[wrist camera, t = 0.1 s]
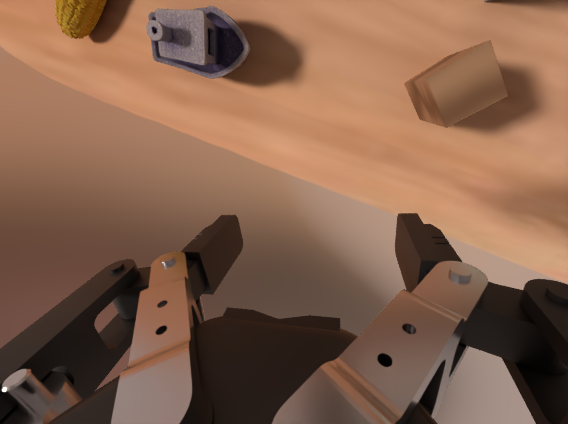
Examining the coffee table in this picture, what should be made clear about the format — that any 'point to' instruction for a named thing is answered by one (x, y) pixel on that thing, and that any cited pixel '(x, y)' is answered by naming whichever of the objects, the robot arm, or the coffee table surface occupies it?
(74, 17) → the food
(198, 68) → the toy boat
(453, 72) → the walnut block
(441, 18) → the coffee table surface
